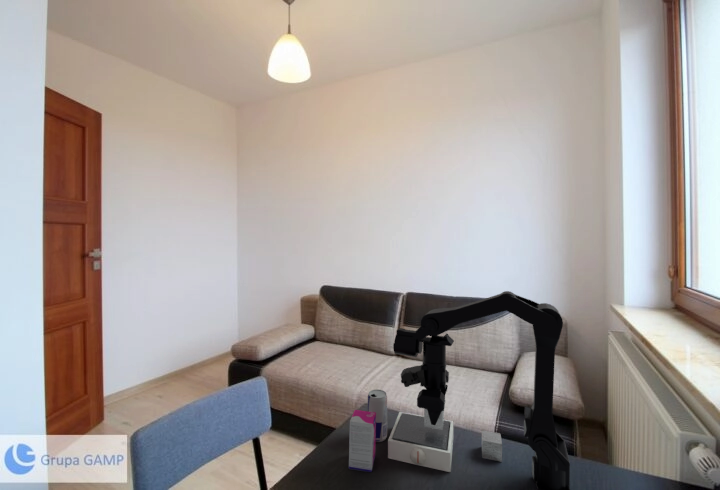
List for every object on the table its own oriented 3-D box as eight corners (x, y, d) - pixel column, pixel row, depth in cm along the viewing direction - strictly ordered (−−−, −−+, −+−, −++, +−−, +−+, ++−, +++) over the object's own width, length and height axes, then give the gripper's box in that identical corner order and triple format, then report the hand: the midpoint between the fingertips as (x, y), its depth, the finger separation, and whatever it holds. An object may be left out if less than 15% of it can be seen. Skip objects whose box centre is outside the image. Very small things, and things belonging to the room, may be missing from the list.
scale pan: (449, 424, 87) (449, 421, 87) (446, 452, 76) (446, 448, 76) (402, 416, 92) (402, 413, 92) (392, 441, 80) (392, 437, 80)
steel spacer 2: (500, 450, 83) (500, 433, 82) (501, 462, 78) (502, 444, 78) (481, 447, 84) (481, 430, 84) (482, 458, 80) (482, 440, 80)
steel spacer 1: (443, 420, 84) (443, 403, 84) (442, 429, 80) (442, 412, 80) (426, 417, 86) (426, 400, 86) (424, 426, 81) (424, 409, 81)
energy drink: (364, 433, 90) (364, 391, 90) (381, 429, 92) (381, 387, 92) (373, 444, 85) (373, 400, 85) (390, 439, 87) (390, 395, 87)
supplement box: (372, 472, 75) (372, 424, 74) (348, 469, 76) (348, 421, 76) (376, 456, 80) (376, 411, 80) (353, 453, 82) (353, 408, 81)
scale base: (453, 437, 88) (453, 421, 88) (450, 473, 74) (450, 454, 74) (399, 427, 93) (399, 411, 93) (387, 459, 79) (387, 441, 79)
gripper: (409, 345, 94) (409, 397, 94) (395, 369, 76) (395, 434, 76) (448, 349, 90) (448, 403, 91) (443, 375, 73) (443, 443, 73)
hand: (434, 419), depth 83 cm, fingers closed on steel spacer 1, 4 cm apart
